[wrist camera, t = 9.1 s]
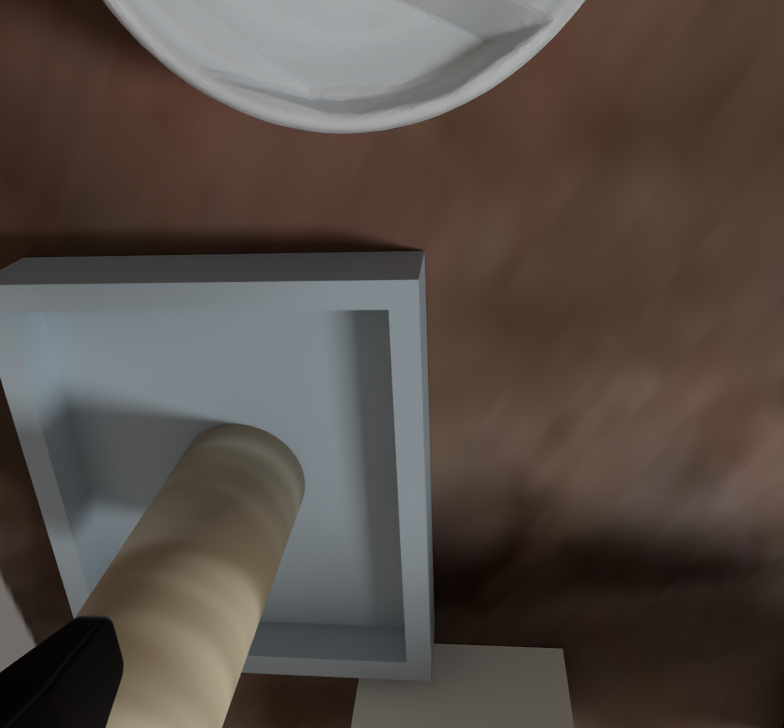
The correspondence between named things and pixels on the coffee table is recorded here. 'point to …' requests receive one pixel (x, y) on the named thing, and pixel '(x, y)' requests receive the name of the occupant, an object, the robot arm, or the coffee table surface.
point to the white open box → (472, 691)
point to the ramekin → (343, 53)
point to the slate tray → (247, 407)
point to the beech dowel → (199, 577)
